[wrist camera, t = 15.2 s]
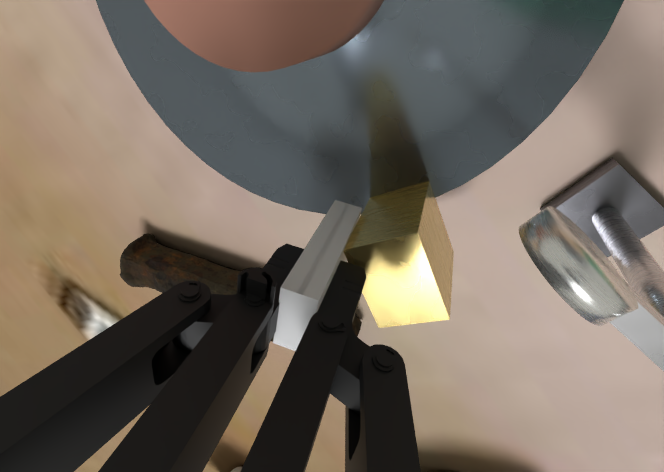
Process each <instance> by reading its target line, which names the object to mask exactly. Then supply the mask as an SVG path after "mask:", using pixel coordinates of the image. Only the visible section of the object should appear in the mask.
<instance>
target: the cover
mask: <svg viewBox="0 0 664 472" xmlns="http://www.w3.org/2000/svg"><path fill="white" fill-rule="evenodd" d="M144 1H145V3H146V4H147V5H148V7H149V8H150V10H151V11H152V12H153V14H154V15H155V16H156V18H157V19H158V20H159V21H160V22H161V23H162V25H163V26H164V27H165V28H166V29H167V30H168V31H169V32H170V33H171V34H172V35H173V36H174V37H175V38H176V39H177V40H178V41H179V42H180V43H182V44H183V45H184V46H186V47H187V48H188V49H190V50H191V51H192V52H194V53H195V54H197V55H199V56H200V57H202V58H204V59H206V60H207V61H209V62H212V63H214V64H217V65H219V66H222V67H224V68H228V69H232V70H236V71H243V72H268V71H273V70H277V69H282V68H286V67H289V66H292V65H295V64H298V63H301V62H304V61H307V60H310V59H314V58H317V57H320V56H323V55H325V54H328V53H330V52H333V51H335V50H336V49H338V48H340V47H341V46H343V45H345V44H346V43H348V42H349V41H350V40H351V39H353V38H354V37H355V36H356V35H358V34H359V33H360V32H361V30H362V29H363V28H364V27H365V26H366V25H367V24H368V23H369V22H370V21H371V19H372V18H373V17H374V15H375V14H376V13H377V11H378V10H379V8H380V6H381V5H382V3H383V1H384V0H144Z"/></svg>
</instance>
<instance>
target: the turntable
mask: <svg viewBox="0 0 664 472" xmlns="http://www.w3.org/2000/svg"><path fill="white" fill-rule="evenodd" d="M623 1H624V0H384V1H383V3H382V5H381V6H380V8H379V10H378V11H377V13H376V14H375V15H374V17H373V18H372V19H371V21H370V22H369V23H368V24H367V25H366V26H365V27H364V28H363V29H362V30H361V32H360V33H359V34H358V35H356V36H355V37H354V38H353V39H351V40H350V41H349V42H348V43H346V44H345V45H343V46H341V47H340V48H338V49H336V50H335V51H333V52H330V53H328V54H325V55H323V56H320V57H317V58H314V59H310V60H307V61H304V62H301V63H298V64H295V65H292V66H289V67H286V68H282V69H277V70H273V71H268V72H243V71H236V70H232V69H228V68H224V67H222V66H219V65H217V64H214V63H212V62H209V61H207V60H206V59H204V58H202V57H200V56H199V55H197V54H195V53H194V52H192V51H191V50H190V49H188V48H187V47H186V46H184V45H183V44H182V43H180V42H179V41H178V40H177V39H176V38H175V37H174V36H173V35H172V34H171V33H170V32H169V31H168V30H167V29H166V28H165V27H164V26H163V25H162V23H161V22H160V21H159V20H158V19H157V18H156V16H155V15H154V14H153V12H152V11H151V10H150V8H149V7H148V5H147V4H146V3H145V1H144V0H96V2H97V5H98V8H99V11H100V13H101V16H102V18H103V20H104V22H105V25H106V27H107V29H108V32H109V34H110V36H111V38H112V41H113V43H114V45H115V47H116V49H117V51H118V53H119V55H120V57H121V58H122V60H123V62H124V64H125V66H126V68H127V70H128V71H129V73H130V75H131V77H132V78H133V80H134V81H135V83H136V84H137V86H138V87H139V89H140V90H141V92H142V93H143V95H144V97H145V98H146V100H147V101H148V102H149V104H150V105H151V106H152V108H153V109H154V110H155V111H156V113H157V114H158V115H159V116H160V118H161V119H162V120H163V122H164V123H165V124H166V125H167V126H168V127H169V129H170V130H171V131H172V132H173V133H174V134H175V135H176V136H177V137H178V138H179V139H180V140H181V141H182V142H183V143H184V144H185V145H186V146H187V147H188V148H189V149H190V150H191V151H192V152H194V153H195V154H196V155H197V156H198V157H199V158H200V159H202V160H203V161H204V162H205V163H206V164H207V165H209V166H210V167H212V168H213V169H214V170H216V171H217V172H219V173H220V174H222V175H223V176H224V177H226V178H227V179H229V180H230V181H232V182H234V183H236V184H237V185H239V186H241V187H243V188H245V189H246V190H248V191H250V192H252V193H254V194H257V195H259V196H261V197H264V198H266V199H268V200H271V201H273V202H276V203H279V204H282V205H286V206H289V207H293V208H296V209H299V210H305V211H311V212H317V213H323V214H327V212H328V211H329V209H330V207H331V206H332V204H333V203H334V201H335V200H338V201H341V202H344V203H348V204H351V205H354V206H357V207H361V208H362V210H361V216H360V218H359V220H358V222H357V224H356V226H355V228H354V230H353V232H352V233H351V236H350V238H349V240H348V242H347V244H346V246H345V248H344V251H343V252H344V254H345V256H346V258H347V260H348V263H351V264H354V265H357V266H360V267H363V268H364V269H365V273H366V281H365V284H364V287H363V291H362V293H363V295H364V297H365V299H366V301H367V303H368V305H369V308H370V310H371V312H372V314H373V316H374V318H375V320H376V323H377V325H378V327H379V328H382V327H390V326H399V325H407V324H416V323H424V322H432V321H441V320H449V319H450V306H451V288H452V271H453V253H454V252H453V249H452V246H451V243H450V240H449V237H448V234H447V231H446V228H445V225H444V222H443V219H442V216H441V213H440V211H439V208H438V205H437V202H436V199H435V197H437V196H440V195H442V194H444V193H446V192H448V191H450V190H452V189H454V188H457V187H459V186H461V185H463V184H465V183H466V182H468V181H469V180H471V179H473V178H474V177H476V176H477V175H479V174H481V173H482V172H484V171H485V170H487V169H489V168H490V167H492V166H493V165H494V164H496V163H497V162H498V161H499V160H501V159H502V158H503V157H504V156H506V155H507V154H508V153H509V152H511V151H512V150H513V149H514V148H516V147H517V146H518V145H519V144H521V143H522V142H523V141H524V140H525V139H526V138H527V137H528V136H529V135H530V134H531V133H532V132H533V131H534V130H535V129H536V128H537V127H538V126H539V125H540V124H541V123H542V122H543V121H544V120H545V119H546V118H547V117H548V116H549V115H550V114H551V113H552V112H553V110H554V109H555V108H556V107H557V105H558V104H559V103H560V102H561V100H562V99H563V98H564V97H565V95H566V94H567V93H568V92H569V90H570V89H571V88H572V87H573V85H574V84H575V83H576V82H577V80H578V79H579V78H580V76H581V75H582V73H583V72H584V70H585V68H586V67H587V65H588V64H589V62H590V61H591V59H592V57H593V56H594V54H595V53H596V51H597V50H598V48H599V46H600V45H601V43H602V42H603V40H604V39H605V37H606V35H607V33H608V31H609V29H610V27H611V25H612V23H613V21H614V19H615V17H616V15H617V13H618V11H619V9H620V7H621V5H622V3H623Z"/></svg>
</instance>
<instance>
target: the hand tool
mask: <svg viewBox="0 0 664 472" xmlns="http://www.w3.org/2000/svg"><path fill="white" fill-rule="evenodd" d="M120 268H121V273H120V276H121V278H122V279H123V280H124V281H125V282H126V283H127V284H128V285H130V286H132V287H149V288H152V289H156V290H157V291H159V292H162V293H164V292H166V291H167V290H169V289H170V288H172V287H173V286H175V285H177V284H179V283H181V282H185V281H199V282H202V283H204V284H206V285H207V286H208V287H209V288H210V291H211V294H222V295H232V294H236V293H237V280H238V274H239V273H240V272H241V271H236V270H232V269H229V268H225V267H223V266H220V265H217V264H214V263H212V262H210V261H207V260H205V259H202V258H198V257H196V256H194V255H190V254H186V253H183V252H181V251H177V250H174V249H171V248H168V247H165V246H162V245H160V244H158V243H157V242H156V239H155V236H154V235H153V234H144V235H143V236H141V237H140V238H138V239H136V240H135V241H133V242H132V243H130V244H129V245H128V246H127V248H126V249H125V250H124V251H123V253H122V255H121V259H120ZM361 323H362V322H361V321H360V320H359V318H357V317H356V316H354V319H353V322H352V328H353V331H354V333H355V334H356V336H358V334H359V331H360V327H361ZM273 339H274V336H273V337H272V339H271V341H272V342H273Z"/></svg>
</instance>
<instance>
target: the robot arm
mask: <svg viewBox="0 0 664 472" xmlns="http://www.w3.org/2000/svg"><path fill="white" fill-rule="evenodd" d="M361 210H362V208H361V207H357V206H354V205H351V204H348V203H344V202H341V201H338V200H335V201H334V203H333V204H332V206H331V207H330V209H329V211H328V212H327V214H326V215H325V217H324V219H323V220H322V222H321V223H320V225H319V227H318V228H317V230H316V231H315V233H314V235H313V236H312V238H311V239H310V241H309V243H308V244H307V246H306V247H305V249H302V248H299V247H296V246H292V245H289V244H285V245H283V246H282V247H280V248H278V249H277V250H276V251H275V253H274V254H273V255H272V257H271V258H270V259H269V261H268V262H267V264H266V265H265V266H264V268H263V269H262V268H248V269H245V270H243V271H241V272H240V273H239V274H238V280H237V293H236V294H232V295H222V294H211V291H210V288H209V287H208V286H207V285H206V284H204V283H202V282H199V281H185V282H181V283H179V284H177V285H175V286H173V287H172V288H170V289H169V290H167V291H166V292H164V293H162V294H161V295H159V296H158V297H156V298H155V299H153V300H151V301H150V302H148V303H147V304H145V305H144V306H142V307H140V308H139V309H137V310H136V311H134V312H133V313H131V314H130V315H128V316H126V317H125V318H123V319H122V320H120V321H119V322H117V323H115V324H114V325H112V326H111V327H109V328H108V329H106V330H104V331H103V332H101V333H100V334H98V335H97V336H95V337H93V338H92V339H90V340H89V341H87V342H86V343H84V344H82V345H81V346H79V347H78V348H76V349H75V350H73V351H71V352H70V353H68V354H67V355H65V356H64V357H62V358H60V359H59V360H57V361H56V362H54V363H53V364H51V365H50V366H48V367H46V368H45V369H43V370H42V371H40V372H39V373H37V374H35V375H34V376H32V377H31V378H29V379H28V380H26V381H24V382H23V383H21V384H20V385H18V386H17V387H15V388H13V389H12V390H10V391H9V392H7V393H6V394H4V395H2V396H1V397H0V472H74V471H75V470H76V469H77V468H78V467H79V466H81V465H82V464H83V463H84V462H85V461H86V460H87V459H89V458H90V457H91V456H92V455H93V454H94V453H95V452H96V451H98V450H99V449H100V448H101V447H102V446H103V445H104V444H106V443H107V442H108V441H109V440H110V439H111V438H112V437H114V436H115V435H116V434H117V433H118V432H119V431H120V430H121V429H123V428H124V427H125V426H126V425H127V424H128V423H129V422H131V421H132V420H133V419H134V418H135V417H136V416H137V415H139V414H140V413H141V412H142V411H143V410H144V409H145V408H147V407H148V406H149V405H150V406H149V407H148V408H147V409H146V411H145V412H144V413H143V415H142V416H141V417H140V418H139V420H138V421H137V422H136V424H135V425H134V426H133V428H132V429H131V430H130V431H129V433H128V434H127V435H126V437H125V438H124V439H123V440H122V442H121V443H120V444H119V446H118V447H117V448H116V449H115V451H114V452H113V453H112V455H111V456H110V457H109V459H108V460H107V461H106V462H105V464H104V465H103V466H102V468H101V469H100V470H99V471H98V472H202V471H203V470H204V468H205V466H206V464H207V462H208V460H209V459H210V457H211V455H212V453H213V451H214V450H215V448H216V446H217V444H218V442H219V441H220V439H221V437H222V435H223V433H224V431H225V430H226V428H227V426H228V424H229V422H230V421H231V419H232V417H233V415H234V413H235V412H236V410H237V408H238V406H239V404H240V402H241V401H242V399H243V397H244V395H245V393H246V392H247V390H248V388H249V386H250V384H251V383H252V381H253V379H254V377H255V375H256V373H257V372H258V370H259V368H260V366H261V364H262V363H263V361H264V359H265V357H266V355H267V352H268V347H269V343H270V341H271V339H272V337H273V336H274V339H273V343H275V344H277V345H280V346H283V347H286V348H288V349H291V350H294V351H295V354H294V356H293V358H292V360H291V362H290V365H289V367H288V369H287V371H286V373H285V375H284V378H283V380H282V382H281V384H280V386H279V389H278V391H277V393H276V395H275V397H274V399H273V402H272V404H271V406H270V408H269V410H268V413H267V415H266V417H265V419H264V421H263V423H262V426H261V428H260V430H259V432H258V434H257V437H256V439H255V441H254V443H253V445H252V447H251V450H250V452H249V454H248V456H247V458H246V461H245V463H244V465H243V467H242V469H241V471H240V472H305V470H306V466H307V463H308V460H309V457H310V454H311V451H312V448H313V445H314V441H315V438H316V435H317V432H318V429H319V426H320V423H321V420H322V417H323V413H324V410H325V407H326V404H327V401H328V398H329V395H330V394H332V395H333V396H334V397H335V398H337V399H338V400H339V401H341V402H342V403H343V404H344V405H346V422H345V472H421V470H420V463H419V457H418V450H417V443H416V437H415V430H414V423H413V416H412V410H411V403H410V396H409V389H408V383H407V376H406V369H405V364H404V361H403V358H402V357H401V356H400V355H399V353H398V352H397V351H395V350H394V349H392V348H391V347H389V346H385V345H373V346H368V345H367V344H365V343H364V342H362V341H361V340H360V339H359V338H358V337H357V336H356V334H355V333H354V331H353V328H352V322H353V319H354V316H355V313H356V310H357V307H358V304H359V300H360V297H361V294H362V291H363V287H364V284H365V281H366V273H365V269H364V268H363V267H360V266H357V265H354V264H351V263H348V262H347V258H346V256H345V254H344V252H343V251H344V248H345V246H346V244H347V242H348V240H349V238H350V236H351V233H352V232H353V230H354V228H355V226H356V224H357V222H358V220H359V218H360V214H361Z"/></svg>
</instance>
